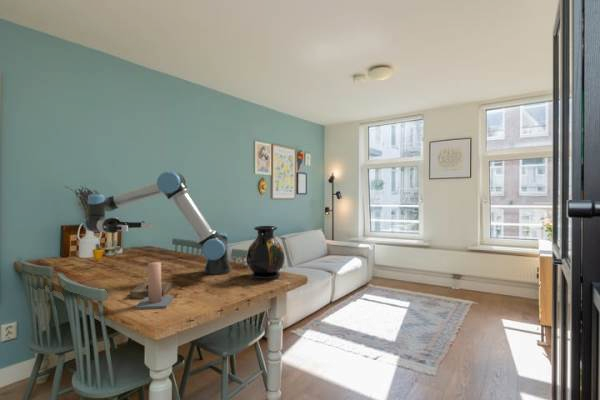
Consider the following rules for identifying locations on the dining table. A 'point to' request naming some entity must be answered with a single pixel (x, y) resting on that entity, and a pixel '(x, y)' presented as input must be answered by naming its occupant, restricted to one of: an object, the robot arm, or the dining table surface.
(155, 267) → the terracotta peg
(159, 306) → the slate mat
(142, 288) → the walnut pocket block
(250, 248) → the amphora vase
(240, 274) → the dining table surface
